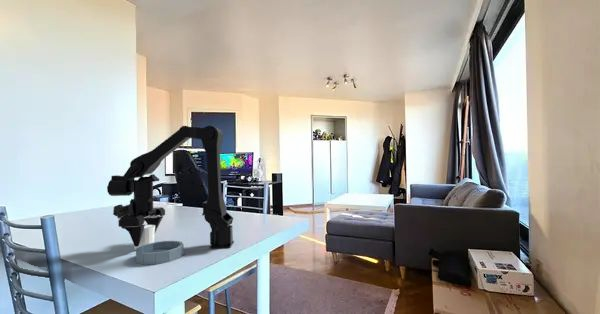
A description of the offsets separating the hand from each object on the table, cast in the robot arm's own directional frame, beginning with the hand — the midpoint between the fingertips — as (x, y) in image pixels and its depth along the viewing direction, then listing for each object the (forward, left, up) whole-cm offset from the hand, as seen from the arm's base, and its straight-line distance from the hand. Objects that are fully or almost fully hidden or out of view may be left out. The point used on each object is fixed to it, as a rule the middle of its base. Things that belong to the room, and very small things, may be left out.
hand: (144, 242), depth 97 cm
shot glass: (0, 0, -2) cm, 2 cm away
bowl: (-10, +10, -2) cm, 14 cm away
